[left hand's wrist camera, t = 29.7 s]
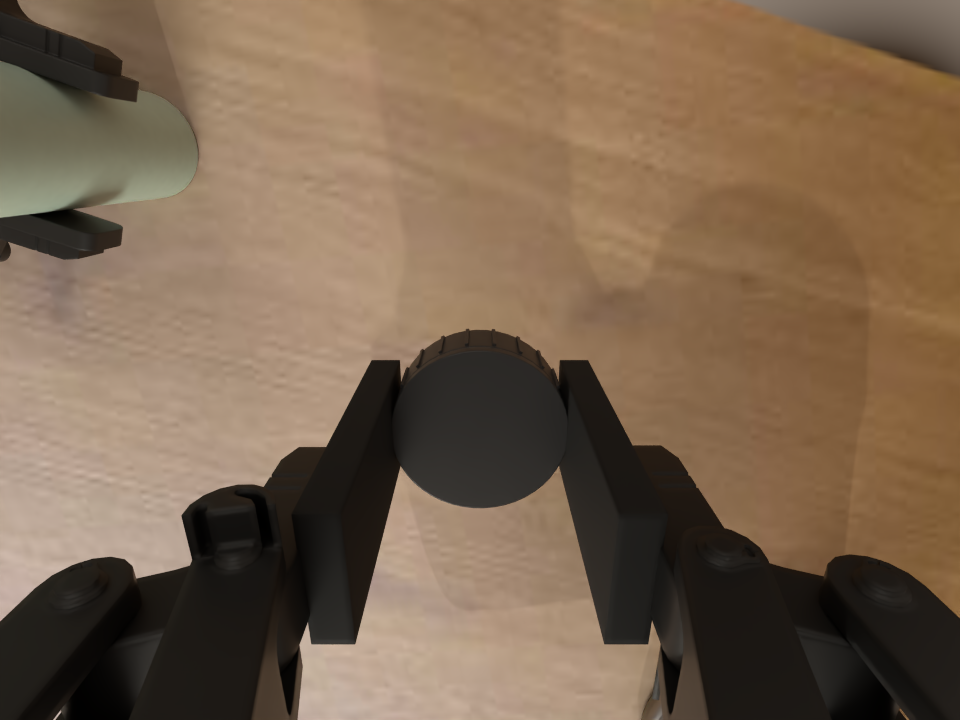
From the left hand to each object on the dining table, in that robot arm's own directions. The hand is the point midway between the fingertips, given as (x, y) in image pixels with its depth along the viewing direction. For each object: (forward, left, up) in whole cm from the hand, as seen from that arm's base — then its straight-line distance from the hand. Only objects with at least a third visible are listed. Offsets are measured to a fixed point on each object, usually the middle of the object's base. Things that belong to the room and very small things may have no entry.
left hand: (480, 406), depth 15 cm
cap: (0, 0, +1) cm, 1 cm away
